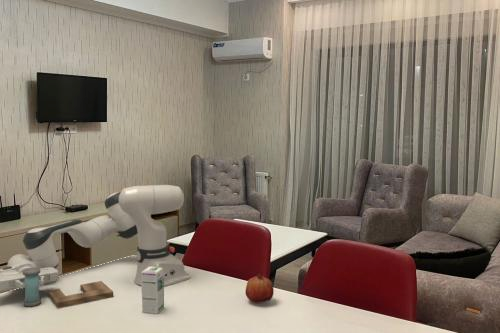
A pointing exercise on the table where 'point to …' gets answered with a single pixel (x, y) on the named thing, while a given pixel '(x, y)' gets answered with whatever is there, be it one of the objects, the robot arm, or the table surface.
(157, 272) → the syrup box
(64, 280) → the table surface
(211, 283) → the table surface
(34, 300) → the bobbin
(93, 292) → the notched board
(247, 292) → the fruit
